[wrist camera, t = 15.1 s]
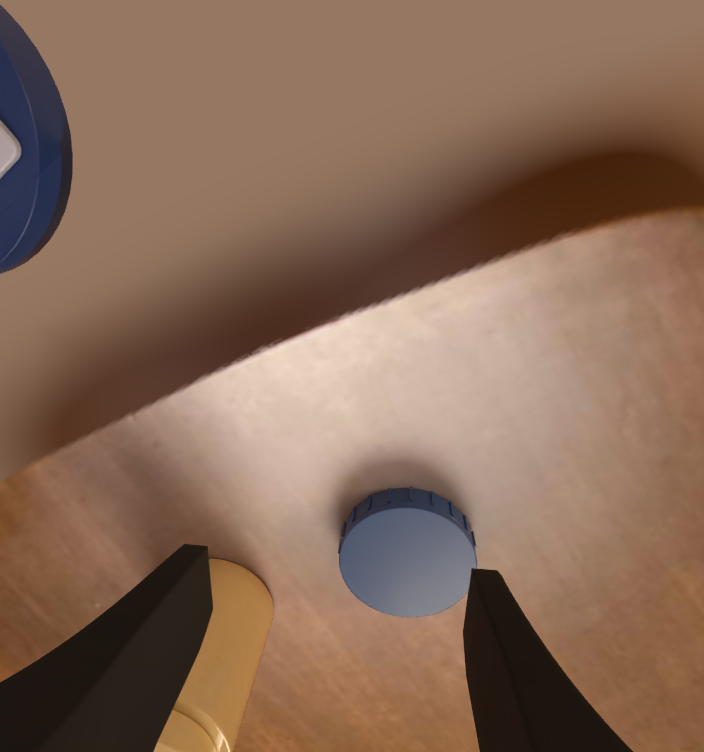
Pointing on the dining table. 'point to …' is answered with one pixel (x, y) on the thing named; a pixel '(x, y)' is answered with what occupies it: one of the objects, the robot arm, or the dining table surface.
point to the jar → (222, 665)
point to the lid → (407, 553)
